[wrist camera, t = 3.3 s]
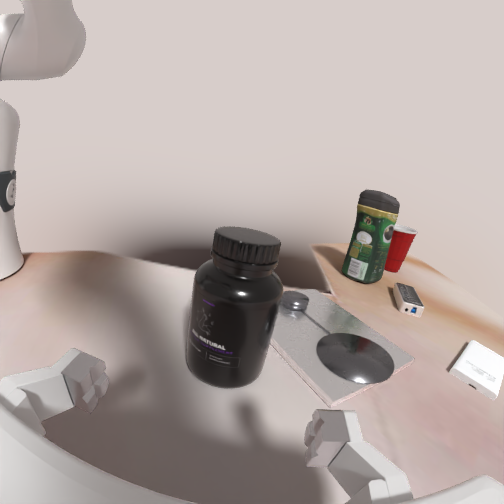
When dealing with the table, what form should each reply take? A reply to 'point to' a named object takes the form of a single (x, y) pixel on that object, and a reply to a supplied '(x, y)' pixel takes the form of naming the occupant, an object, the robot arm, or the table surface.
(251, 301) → the supplement bottle
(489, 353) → the external hard drive
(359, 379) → the plate
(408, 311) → the multiport hub
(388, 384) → the table surface
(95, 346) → the table surface
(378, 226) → the coffee jar
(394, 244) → the plastic cup
